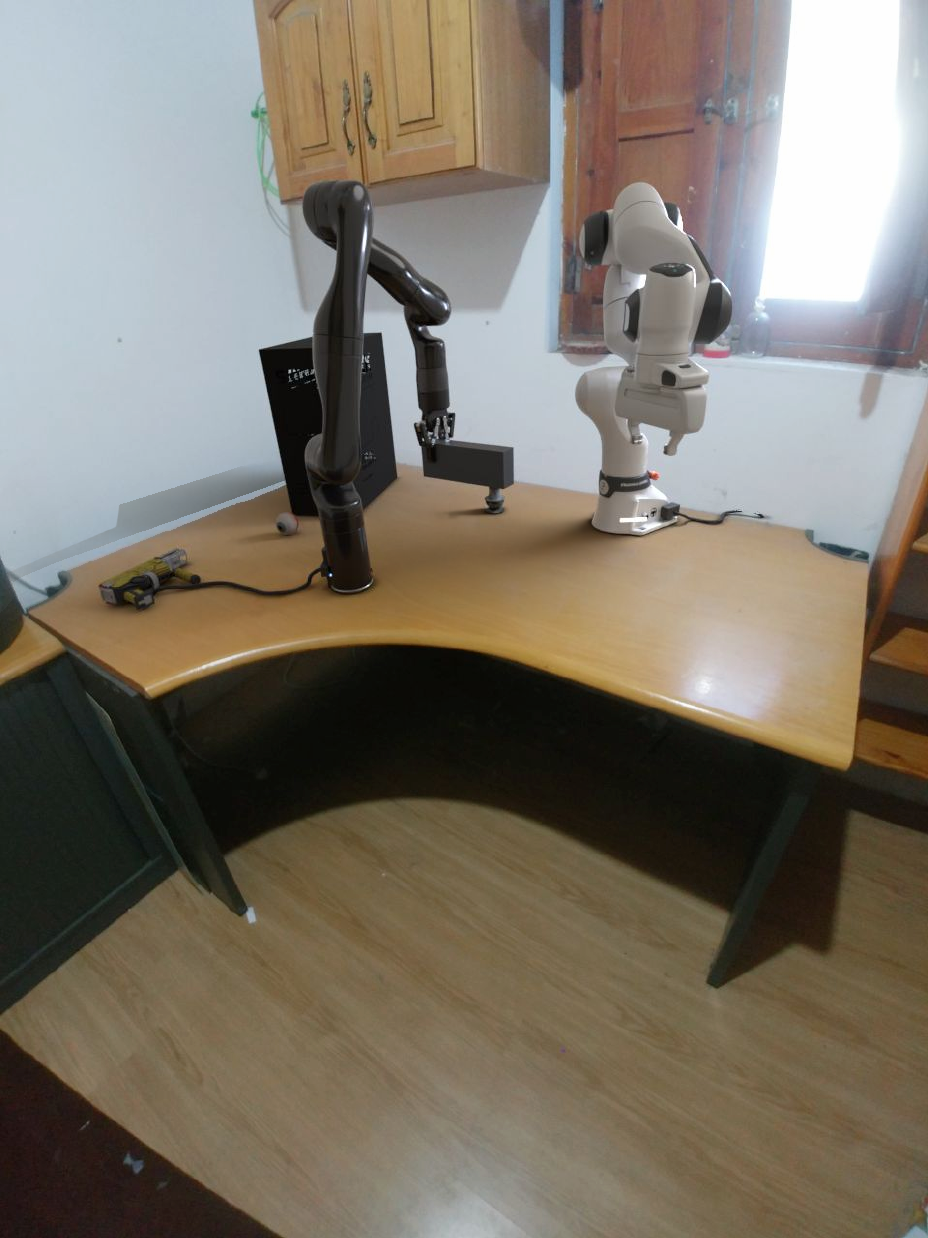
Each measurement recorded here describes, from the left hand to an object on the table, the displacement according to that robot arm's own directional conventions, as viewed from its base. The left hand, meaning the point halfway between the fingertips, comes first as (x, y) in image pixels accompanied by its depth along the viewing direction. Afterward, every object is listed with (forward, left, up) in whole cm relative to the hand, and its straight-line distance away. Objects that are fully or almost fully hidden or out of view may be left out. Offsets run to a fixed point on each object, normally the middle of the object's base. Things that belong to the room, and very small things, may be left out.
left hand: (438, 459), depth 150 cm
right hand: (+53, -16, +9) cm, 56 cm away
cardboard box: (-43, +21, -20) cm, 52 cm away
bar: (+8, -2, -4) cm, 9 cm away
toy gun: (-49, -48, -20) cm, 71 cm away
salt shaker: (+7, +21, -20) cm, 29 cm away
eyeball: (-41, -12, -20) cm, 47 cm away
